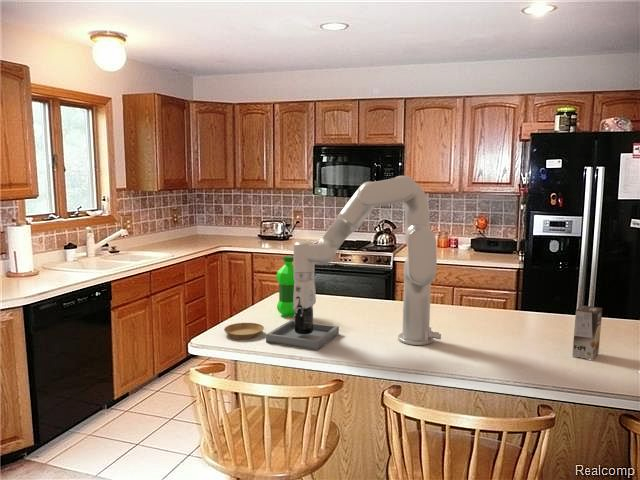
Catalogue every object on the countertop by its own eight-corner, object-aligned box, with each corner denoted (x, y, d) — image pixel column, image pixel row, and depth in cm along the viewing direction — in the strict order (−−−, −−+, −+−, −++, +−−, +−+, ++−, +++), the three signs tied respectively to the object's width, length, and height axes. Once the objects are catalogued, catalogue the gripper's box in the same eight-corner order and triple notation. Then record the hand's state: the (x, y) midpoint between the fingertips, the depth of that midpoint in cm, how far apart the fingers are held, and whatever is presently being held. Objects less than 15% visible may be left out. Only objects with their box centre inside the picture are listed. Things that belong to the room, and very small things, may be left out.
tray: (338, 334, 197) (338, 326, 197) (317, 350, 179) (317, 341, 178) (290, 327, 205) (290, 320, 204) (266, 342, 186) (266, 334, 186)
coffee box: (592, 361, 171) (596, 313, 169) (571, 356, 175) (575, 309, 173) (599, 354, 178) (602, 307, 176) (578, 349, 182) (582, 304, 180)
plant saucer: (256, 342, 187) (256, 335, 187) (217, 339, 190) (217, 332, 190) (269, 330, 201) (269, 324, 201) (232, 327, 204) (232, 321, 204)
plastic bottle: (273, 312, 226) (273, 255, 223) (297, 311, 229) (297, 254, 226) (278, 318, 217) (278, 259, 213) (303, 317, 220) (303, 258, 217)
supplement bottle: (314, 329, 195) (314, 297, 193) (312, 335, 188) (312, 302, 186) (295, 328, 195) (295, 297, 194) (293, 334, 188) (292, 301, 187)
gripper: (303, 281, 179) (303, 331, 182) (322, 272, 195) (322, 319, 198) (283, 279, 182) (284, 329, 185) (304, 270, 198) (304, 316, 200)
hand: (304, 323), depth 191 cm, fingers closed on supplement bottle, 6 cm apart
